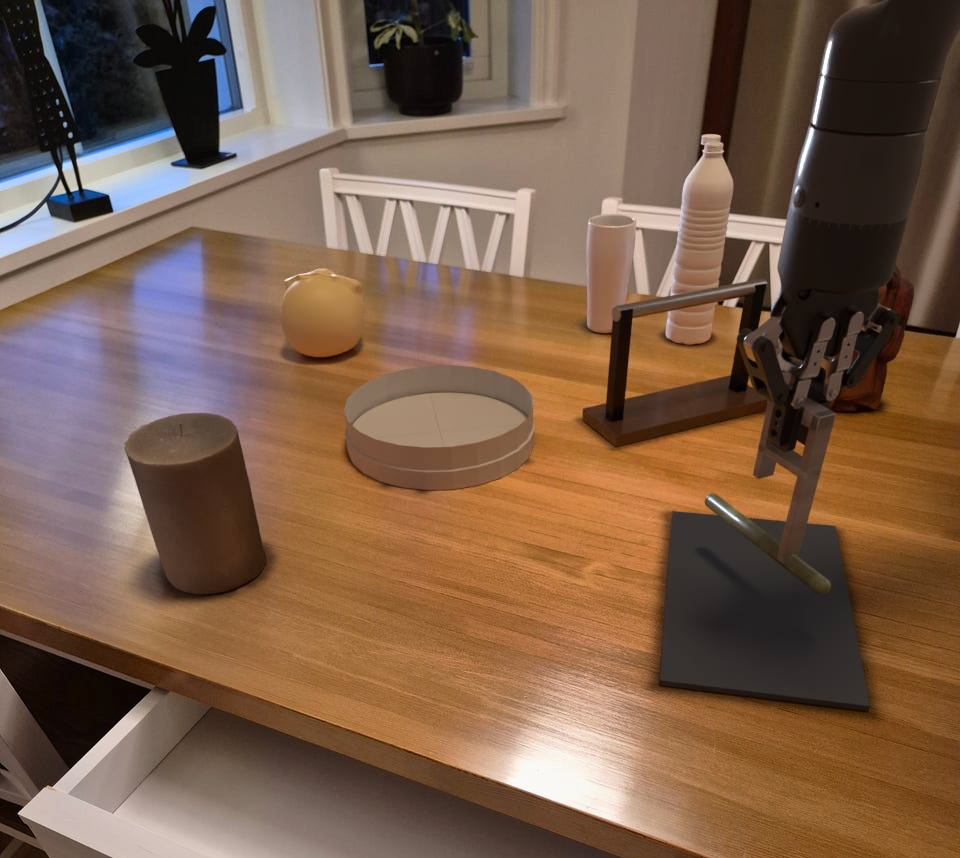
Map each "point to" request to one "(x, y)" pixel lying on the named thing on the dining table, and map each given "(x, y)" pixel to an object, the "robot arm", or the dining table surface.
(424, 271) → the dining table surface
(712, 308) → the water bottle
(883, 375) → the wooden figurine
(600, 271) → the drinking glass
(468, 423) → the dish
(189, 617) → the dining table surface
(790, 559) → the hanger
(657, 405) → the rail stand
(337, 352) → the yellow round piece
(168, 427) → the pillar candle
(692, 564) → the mat
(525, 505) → the dining table surface
